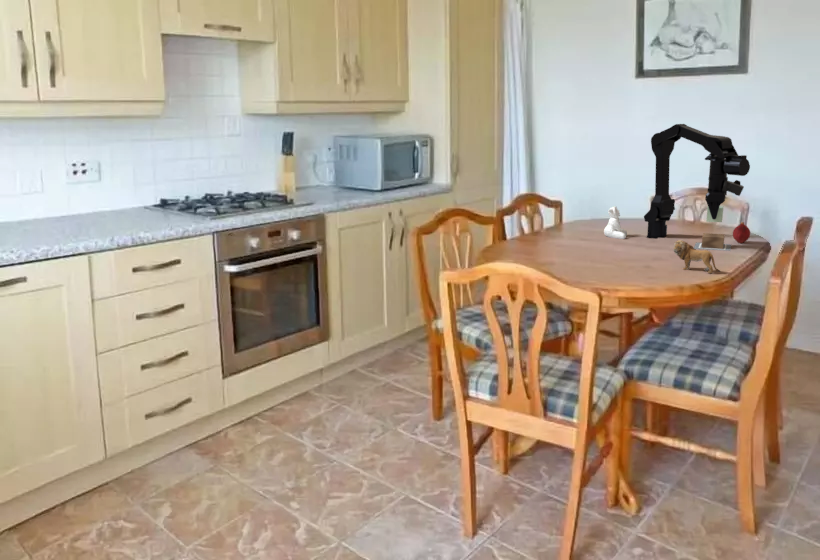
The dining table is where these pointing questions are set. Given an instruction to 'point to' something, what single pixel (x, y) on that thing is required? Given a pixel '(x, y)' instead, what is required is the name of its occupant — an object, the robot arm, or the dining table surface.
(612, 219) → the white creature statuette
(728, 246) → the blueprint mat
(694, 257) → the lion figurine
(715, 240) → the walnut base
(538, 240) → the dining table surface
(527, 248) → the dining table surface
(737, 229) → the onion
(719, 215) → the sage block
